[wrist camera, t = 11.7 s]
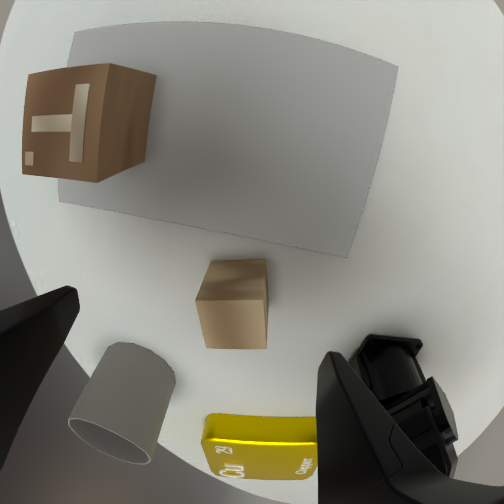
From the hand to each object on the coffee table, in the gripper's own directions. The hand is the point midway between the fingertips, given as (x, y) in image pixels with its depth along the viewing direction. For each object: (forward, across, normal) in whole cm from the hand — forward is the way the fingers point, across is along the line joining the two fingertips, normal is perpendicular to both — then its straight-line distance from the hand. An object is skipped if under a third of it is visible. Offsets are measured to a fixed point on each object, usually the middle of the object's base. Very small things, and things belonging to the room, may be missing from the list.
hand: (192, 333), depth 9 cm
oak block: (+12, -1, +5) cm, 13 cm away
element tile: (+13, -9, +31) cm, 34 cm away
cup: (+12, +8, +19) cm, 24 cm away
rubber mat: (+12, +4, -6) cm, 13 cm away
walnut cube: (+5, +10, -6) cm, 12 cm away
